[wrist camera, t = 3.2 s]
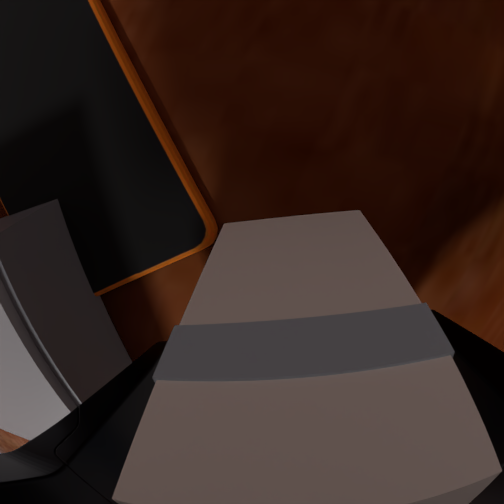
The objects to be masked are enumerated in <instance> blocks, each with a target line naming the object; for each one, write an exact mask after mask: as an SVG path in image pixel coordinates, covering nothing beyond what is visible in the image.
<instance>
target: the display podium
mask: <svg viewBox="0 0 504 504" xmlns="http://www.w3.org/2000/svg"><path fill="white" fill-rule="evenodd" d="M131 363H132V361H131V359H130V357H129V355H128V353H127V351H126V349H125V347H124V345H123V343H122V341H121V339H120V337H119V335H118V333H117V331H116V329H115V327H114V325H113V323H112V321H111V319H110V317H109V315H108V313H107V310H106V308H105V306H104V304H103V302H102V299H101V297H100V295H99V296H95V295H94V293H93V291H92V289H91V287H90V284H89V282H88V280H87V277H86V275H85V272H84V270H83V268H82V265H81V263H80V260H79V258H78V255H77V253H76V250H75V247H74V245H73V242H72V239H71V237H70V234H69V231H68V228H67V226H66V223H65V220H64V217H63V214H62V211H61V208H60V205H59V202H58V199H56V200H53V201H50V202H47V203H44V204H41V205H38V206H35V207H32V208H29V209H27V210H24V211H21V212H18V213H16V214H13V215H10V216H5V217H3V218H0V429H3V430H5V431H7V432H10V433H12V434H15V435H17V436H20V437H23V438H25V439H28V440H32V439H33V438H35V437H37V436H38V435H40V434H41V433H43V432H44V431H46V430H47V429H49V428H50V427H51V426H53V425H54V424H56V423H57V422H59V421H60V420H61V419H63V418H64V417H65V416H66V415H68V414H69V413H70V412H72V411H73V410H74V409H75V408H76V407H79V405H80V404H82V403H83V402H84V401H85V400H87V399H88V398H89V397H90V396H92V395H93V394H94V393H95V392H97V391H98V390H99V389H100V388H102V387H103V386H104V385H105V384H106V383H108V382H109V381H110V380H111V379H113V378H114V377H115V376H116V375H118V374H119V373H120V372H121V371H123V370H124V369H125V368H126V367H128V366H129V365H130V364H131Z"/></svg>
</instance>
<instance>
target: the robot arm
mask: <svg viewBox="0 0 504 504" xmlns="http://www.w3.org/2000/svg"><path fill="white" fill-rule="evenodd" d="M431 312H432V313H433V315H434V316H435V318H436V320H437V322H438V323H439V325H440V327H441V328H442V330H443V332H444V334H445V335H446V337H447V339H448V341H449V342H450V344H451V346H452V348H453V350H454V351H455V352H454V356H453V360H454V362H455V364H456V366H457V368H458V370H459V372H460V374H461V376H462V378H463V380H464V382H465V384H466V386H467V388H468V390H469V392H470V394H471V397H472V399H473V401H474V403H475V405H476V407H477V410H478V412H479V414H480V416H481V419H482V421H483V423H484V425H485V428H486V430H487V433H488V435H489V437H490V440H491V442H492V445H493V447H494V450H495V453H496V455H497V458H498V461H499V463H500V466H501V469H502V472H501V473H500V474H499V475H498V476H497V477H496V478H495V479H494V480H493V481H492V482H491V483H490V484H489V485H488V486H487V487H486V488H485V489H484V490H483V491H482V492H481V493H480V494H479V495H478V496H477V497H475V498H474V499H473V500H472V501H471V502H470V503H469V504H504V352H502V351H501V350H499V349H498V348H496V347H494V346H493V345H491V344H490V343H488V342H486V341H485V340H483V339H481V338H480V337H478V336H476V335H475V334H473V333H472V332H470V331H468V330H467V329H465V328H463V327H462V326H460V325H458V324H457V323H455V322H453V321H452V320H450V319H448V318H447V317H445V316H443V315H441V314H440V313H438V312H436V311H435V310H431ZM167 342H168V341H162V342H157V343H156V344H155V345H153V346H152V347H151V348H150V349H148V350H147V351H146V352H145V353H144V354H142V355H141V356H140V357H139V358H137V359H136V360H135V361H134V362H132V363H131V364H130V365H129V366H128V367H126V368H125V369H124V370H123V371H121V372H120V373H119V374H118V375H116V376H115V377H114V378H113V379H111V380H110V381H109V382H108V383H106V384H105V385H104V386H103V387H102V388H100V389H99V390H98V391H97V392H95V393H94V394H93V395H92V396H90V397H89V398H88V399H87V400H85V401H84V402H83V403H82V404H80V405H79V407H76V408H75V409H74V410H73V411H72V412H70V413H69V414H68V415H66V416H65V417H64V418H63V419H61V420H60V421H59V422H57V423H56V424H54V425H53V426H51V427H50V428H49V429H47V430H46V431H44V432H43V433H41V434H40V435H38V436H37V437H35V438H33V439H32V440H30V441H29V442H27V443H26V444H24V445H23V446H21V447H20V448H18V449H16V450H14V451H12V452H8V453H2V454H0V504H118V503H117V502H115V501H114V500H113V499H112V497H113V494H114V491H115V488H116V485H117V483H118V480H119V477H120V474H121V471H122V469H123V466H124V463H125V461H126V458H127V455H128V452H129V450H130V447H131V444H132V442H133V439H134V437H135V434H136V431H137V429H138V426H139V423H140V421H141V418H142V416H143V413H144V411H145V408H146V405H147V403H148V400H149V398H150V395H151V393H152V390H153V388H154V385H155V382H154V380H153V378H152V377H153V374H154V372H155V370H156V367H157V365H158V363H159V360H160V358H161V356H162V353H163V351H164V349H165V346H166V344H167Z"/></svg>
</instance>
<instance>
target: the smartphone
mask: <svg viewBox="0 0 504 504" xmlns="http://www.w3.org/2000/svg"><path fill="white" fill-rule="evenodd" d="M56 199H58V202H59V205H60V208H61V211H62V214H63V217H64V220H65V223H66V226H67V228H68V231H69V234H70V237H71V239H72V242H73V245H74V247H75V250H76V253H77V255H78V258H79V260H80V263H81V265H82V268H83V270H84V272H85V275H86V277H87V280H88V282H89V284H90V287H91V289H92V291H93V293H94V295H95V296H99V295H102V294H104V293H106V292H108V291H110V290H113V289H115V288H117V287H119V286H121V285H124V284H126V283H128V282H130V281H133V280H135V279H137V278H139V277H142V276H144V275H146V274H148V273H151V272H153V271H155V270H157V269H160V268H162V267H164V266H166V265H169V264H171V263H173V262H175V261H178V260H180V259H182V258H185V257H187V256H189V255H191V254H194V253H196V252H198V251H201V250H203V249H205V248H207V247H208V246H210V245H211V244H213V242H214V241H215V239H216V237H217V233H218V227H217V224H216V220H215V218H214V217H213V215H212V213H211V211H210V209H209V207H208V206H207V204H206V202H205V200H204V198H203V196H202V194H201V193H200V191H199V189H198V187H197V185H196V183H195V182H194V180H193V178H192V176H191V174H190V172H189V170H188V169H187V167H186V165H185V163H184V161H183V159H182V157H181V155H180V154H179V152H178V150H177V148H176V146H175V144H174V142H173V140H172V139H171V137H170V135H169V133H168V131H167V129H166V127H165V125H164V123H163V122H162V120H161V118H160V116H159V114H158V112H157V110H156V108H155V106H154V104H153V103H152V101H151V99H150V97H149V95H148V93H147V91H146V89H145V87H144V85H143V83H142V81H141V80H140V78H139V76H138V74H137V72H136V70H135V68H134V66H133V64H132V62H131V60H130V58H129V56H128V54H127V52H126V50H125V49H124V47H123V45H122V43H121V41H120V39H119V37H118V35H117V33H116V31H115V29H114V27H113V25H112V23H111V21H110V19H109V17H108V15H107V13H106V11H105V9H104V7H103V5H102V3H101V1H100V0H0V201H1V203H2V205H3V207H4V209H5V211H6V213H7V215H8V216H10V215H13V214H16V213H18V212H21V211H24V210H27V209H29V208H32V207H35V206H38V205H41V204H44V203H47V202H50V201H53V200H56Z"/></svg>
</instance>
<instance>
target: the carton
mask: <svg viewBox="0 0 504 504" xmlns="http://www.w3.org/2000/svg"><path fill="white" fill-rule="evenodd" d="M454 352H455V351H454V350H453V348H452V346H451V344H450V342H449V341H448V339H447V337H446V335H445V334H444V332H443V330H442V328H441V327H440V325H439V323H438V322H437V320H436V318H435V316H434V315H433V313H432V312H431V310H430V308H429V307H428V305H427V303H421V302H420V300H419V298H418V297H417V295H416V293H415V292H414V290H413V288H412V287H411V285H410V284H409V282H408V280H407V279H406V277H405V276H404V274H403V273H402V271H401V269H400V268H399V266H398V265H397V263H396V262H395V260H394V259H393V257H392V256H391V254H390V253H389V251H388V250H387V248H386V247H385V245H384V244H383V242H382V241H381V239H380V238H379V237H378V235H377V234H376V232H375V231H374V229H373V228H372V227H371V225H370V224H369V222H368V221H367V220H366V218H365V217H364V215H363V214H362V213H361V211H360V210H353V211H342V212H330V213H320V214H309V215H299V216H289V217H279V218H269V219H260V220H251V221H242V222H233V223H224V225H223V227H222V229H221V231H220V233H219V236H218V238H217V240H216V242H215V244H214V247H213V249H212V251H211V253H210V256H209V258H208V260H207V262H206V265H205V267H204V269H203V271H202V274H201V276H200V278H199V280H198V283H197V285H196V287H195V290H194V292H193V294H192V297H191V299H190V301H189V303H188V306H187V308H186V310H185V313H184V315H183V318H182V320H181V322H180V325H175V326H174V328H173V330H172V332H171V335H170V337H169V339H168V342H167V344H166V346H165V349H164V351H163V353H162V356H161V358H160V360H159V363H158V365H157V367H156V370H155V372H154V374H153V377H152V378H153V380H154V382H155V385H154V388H153V390H152V393H151V395H150V398H149V400H148V403H147V405H146V408H145V411H144V413H143V416H142V418H141V421H140V423H139V426H138V429H137V431H136V434H135V437H134V439H133V442H132V444H131V447H130V450H129V452H128V455H127V458H126V461H125V463H124V466H123V469H122V471H121V474H120V477H119V480H118V483H117V485H116V488H115V491H114V494H113V497H112V499H113V500H114V501H115V502H117V503H118V504H469V503H470V502H471V501H472V500H473V499H474V498H475V497H477V496H478V495H479V494H480V493H481V492H482V491H483V490H484V489H485V488H486V487H487V486H488V485H489V484H490V483H491V482H492V481H493V480H494V479H495V478H496V477H497V476H498V475H499V474H500V473H501V472H502V469H501V466H500V463H499V461H498V458H497V455H496V453H495V450H494V447H493V445H492V442H491V440H490V437H489V435H488V433H487V430H486V428H485V425H484V423H483V421H482V419H481V416H480V414H479V412H478V410H477V407H476V405H475V403H474V401H473V399H472V397H471V394H470V392H469V390H468V388H467V386H466V384H465V382H464V380H463V378H462V376H461V374H460V372H459V370H458V368H457V366H456V364H455V362H454V360H453V356H454Z"/></svg>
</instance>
